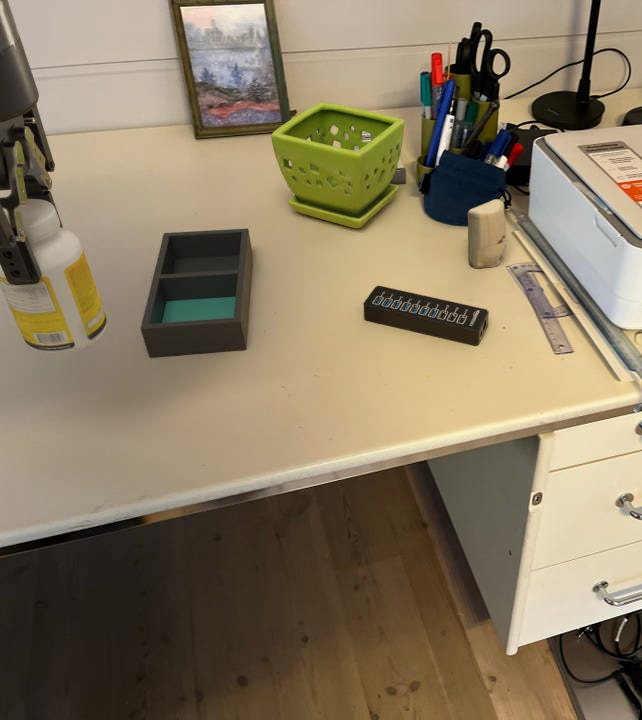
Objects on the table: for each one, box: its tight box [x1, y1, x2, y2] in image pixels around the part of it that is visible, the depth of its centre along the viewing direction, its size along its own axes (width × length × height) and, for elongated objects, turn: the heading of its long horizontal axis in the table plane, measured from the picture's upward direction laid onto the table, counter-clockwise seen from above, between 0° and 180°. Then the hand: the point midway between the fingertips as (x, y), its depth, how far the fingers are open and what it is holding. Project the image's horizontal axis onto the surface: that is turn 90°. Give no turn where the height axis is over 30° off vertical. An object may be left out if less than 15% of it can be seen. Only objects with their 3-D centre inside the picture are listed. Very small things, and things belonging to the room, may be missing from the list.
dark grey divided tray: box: [140, 227, 254, 359], centre depth 90 cm, size 20×10×4 cm, turn 11°
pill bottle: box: [0, 199, 108, 355], centre depth 60 cm, size 6×6×12 cm
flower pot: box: [270, 101, 405, 229], centre depth 106 cm, size 14×14×13 cm
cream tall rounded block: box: [467, 198, 507, 269], centre depth 99 cm, size 6×5×8 cm
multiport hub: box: [363, 285, 490, 347], centre depth 90 cm, size 4×14×2 cm, turn 73°
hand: (38, 256), depth 59 cm, fingers closed on pill bottle, 6 cm apart
